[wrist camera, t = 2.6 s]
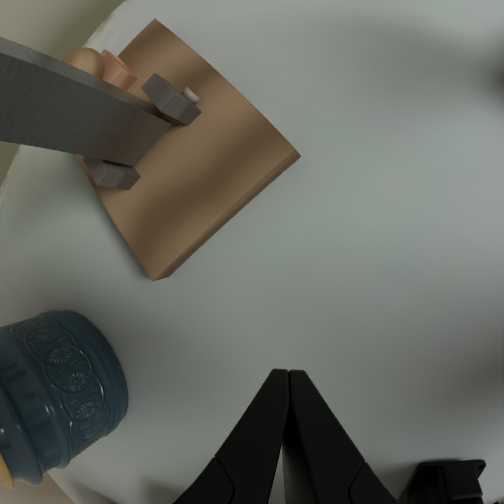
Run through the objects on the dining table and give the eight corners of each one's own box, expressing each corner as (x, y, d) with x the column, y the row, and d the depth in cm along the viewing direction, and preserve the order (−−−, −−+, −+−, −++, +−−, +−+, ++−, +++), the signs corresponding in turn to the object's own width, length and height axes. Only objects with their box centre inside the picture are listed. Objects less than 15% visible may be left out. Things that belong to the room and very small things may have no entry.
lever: (182, 115, 17) (-76, 5, 2) (127, 176, 19) (-125, 149, 4) (165, 97, 17) (-68, -9, 2) (113, 155, 19) (-118, 118, 4)
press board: (301, 156, 18) (272, 119, 12) (168, 276, 22) (97, 297, 15) (167, 29, 20) (115, -14, 14) (77, 132, 24) (15, 117, 17)
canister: (30, 325, 28) (-97, 365, 12) (91, 287, 24) (-99, 335, 8) (80, 428, 28) (-31, 497, 11) (156, 422, 24) (12, 540, 7)
